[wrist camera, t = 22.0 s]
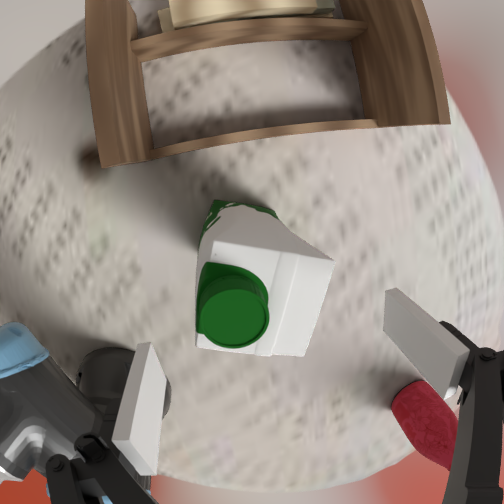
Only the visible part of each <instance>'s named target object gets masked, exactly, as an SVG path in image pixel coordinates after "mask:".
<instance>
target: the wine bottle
mask: <svg viewBox="0 0 504 504" xmlns="http://www.w3.org/2000/svg"><path fill="white" fill-rule="evenodd" d="M391 409H392V412H393V414H394V416H395V418H396V420H397V421H398V423H399V425H400V426H401V428H402V430H403V431H404V433H405V435H406V436H407V438H408V439H409V441H410V442H411V444H412V445H413V446H414V448H415V449H416V450H417V451H418V452H419V453H421V454H422V455H423V456H425V457H426V458H428V459H430V460H432V461H433V462H436V463H437V464H439V465H441V466H443V467H445V468H447V469H448V471H450V469H451V464H452V459H453V454H454V448H455V442H456V435H457V428H458V420H457V418H456V416H455V414H454V413H453V411H452V410H451V409H450V407H449V406H448V405H447V404H446V403H445V401H444V400H443V399H442V398H441V397H440V396H439V394H438V393H437V392H436V391H435V390H434V389H433V388H432V387H431V386H430V385H429V384H428V383H427V382H425V381H417V382H414V383H411V384H410V385H408V386H406V387H405V388H404V389H402V390H401V391H400V392H399V393H398V394H397V396H396V397H395V399H394V400H393V403H392V407H391Z"/></svg>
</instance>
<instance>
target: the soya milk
mask: <svg viewBox="0 0 504 504" xmlns="http://www.w3.org/2000/svg"><path fill="white" fill-rule="evenodd" d="M335 262H336V261H335V260H333V259H332V258H330V257H328V256H327V255H325V254H324V253H322V252H321V251H319V250H318V249H316V248H315V247H313V246H312V245H310V244H309V243H307V242H306V241H304V240H303V239H301V238H300V237H298V236H297V235H295V234H294V233H292V232H291V231H290V230H289V229H288V228H287V227H286V226H285V225H284V224H283V223H282V222H281V221H280V220H279V219H278V217H277V215H276V213H275V211H273V210H270V209H267V208H264V207H259V206H254V205H249V204H244V203H237V202H229V201H220V200H214V202H213V204H212V207H211V209H210V211H209V214H208V216H207V218H206V220H205V223H204V226H203V230H202V234H201V238H200V243H199V250H198V259H197V268H196V286H195V346H196V347H198V348H204V349H212V350H219V351H227V352H236V353H245V354H254V355H258V356H271V354H272V355H286V356H304V355H305V352H306V349H307V347H308V344H309V341H310V338H311V336H312V333H313V330H314V327H315V324H316V321H317V318H318V315H319V312H320V309H321V306H322V303H323V300H324V297H325V294H326V291H327V288H328V285H329V282H330V278H331V275H332V272H333V269H334V265H335Z"/></svg>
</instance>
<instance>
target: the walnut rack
mask: <svg viewBox="0 0 504 504" xmlns="http://www.w3.org/2000/svg"><path fill="white" fill-rule="evenodd" d="M339 2H340V5H341V9H342V12H343V16H344V20H343V19H328V18H266V19H251V20H240V21H230V22H222V23H214V24H208V25H201V26H195V27H190V28H184V29H179V30H175V31H170V32H165V33H161V34H157V35H153V36H149V37H145V38H141V39H138V29H137V18H136V14H135V12H134V11H133V9H132V7H131V5H130V3H129V2H128V0H85V32H86V54H87V68H88V80H89V90H90V99H91V107H92V114H93V121H94V128H95V134H96V141H97V146H98V152H99V158H100V163H101V168H102V169H103V168H108V167H114V166H120V165H127V164H133V163H140V162H146V161H150V160H154V159H158V158H162V157H166V156H171V155H175V154H180V153H184V152H189V151H194V150H199V149H204V148H209V147H214V146H219V145H225V144H231V143H237V142H243V141H249V140H256V139H262V138H270V137H277V136H285V135H293V134H302V133H312V132H322V131H334V130H348V129H365V128H383V127H396V126H413V125H441V124H451V122H450V114H449V107H448V100H447V94H446V89H445V83H444V78H443V73H442V68H441V64H440V60H439V55H438V51H437V47H436V44H435V40H434V36H433V33H432V30H431V26H430V23H429V20H428V16H427V13H426V10H425V7H424V4H423V1H422V0H339ZM282 40H340V41H350V43H351V47H352V52H353V56H354V61H355V65H356V70H357V75H358V80H359V85H360V91H361V96H362V102H363V108H364V115H365V119H363V120H342V121H327V122H315V123H304V124H294V125H285V126H277V127H269V128H261V129H254V130H248V131H241V132H235V133H229V134H223V135H218V136H212V137H207V138H202V139H197V140H192V141H187V142H182V143H178V144H173V145H169V146H164V147H160V148H156V149H154V144H153V139H152V133H151V127H150V121H149V115H148V109H147V102H146V96H145V89H144V81H143V74H142V66H141V63H142V62H145V61H149V60H153V59H157V58H161V57H165V56H170V55H174V54H179V53H184V52H189V51H194V50H200V49H206V48H212V47H219V46H226V45H234V44H243V43H253V42H265V41H282Z"/></svg>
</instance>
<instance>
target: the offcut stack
mask: <svg viewBox="0 0 504 504" xmlns="http://www.w3.org/2000/svg"><path fill="white" fill-rule="evenodd" d="M169 6H170V7H168V8H165V9H162V10H158V11H157V12H158V16H159V20H160V25H161V29H162V33H165V32H170V31H175V30H179V29H184V28H190V27H195V26H201V25H208V24H214V23H222V22H230V21H240V20H251V19H266V18H328V19H332V18H333V15H332V11H333V10H334V9H335V8H336V7H335V4H334V2H333V0H169Z"/></svg>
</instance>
